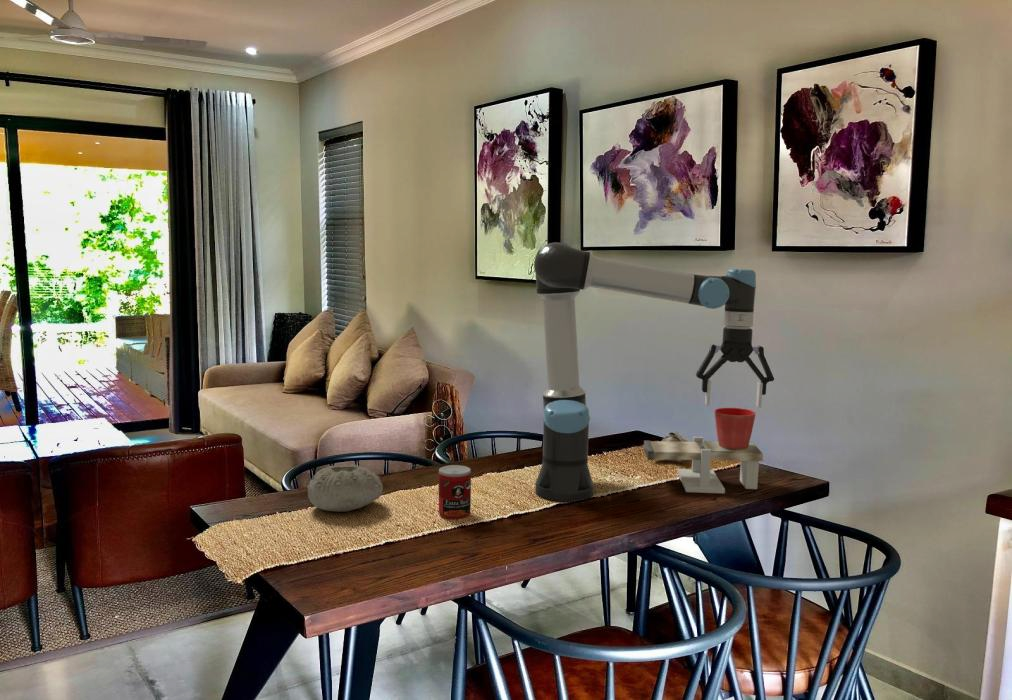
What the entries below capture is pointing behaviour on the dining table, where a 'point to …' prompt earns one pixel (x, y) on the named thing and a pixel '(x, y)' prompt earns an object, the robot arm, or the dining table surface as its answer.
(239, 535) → the dining table surface
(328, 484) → the decorative shell
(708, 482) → the stand
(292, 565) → the dining table surface
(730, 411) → the flower pot
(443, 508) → the canned food
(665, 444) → the beam
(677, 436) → the ceramic sculpture
